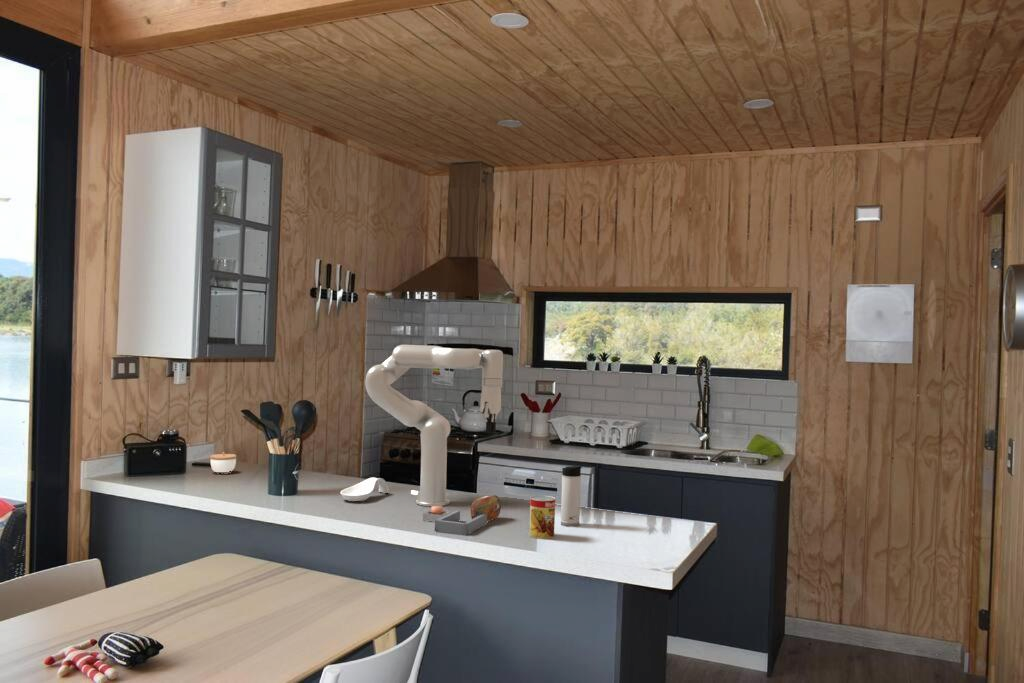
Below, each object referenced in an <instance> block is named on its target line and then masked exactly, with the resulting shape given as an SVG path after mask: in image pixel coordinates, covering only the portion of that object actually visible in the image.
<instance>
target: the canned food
mask: <svg viewBox="0 0 1024 683" xmlns="http://www.w3.org/2000/svg"><path fill="white" fill-rule="evenodd" d="M529 500H530V501H529V502H530V503H529V537H531V538H533V539H537V538H538V539H539V540H547V539H549V540H550V539H553V538H554V537H555V522H556V520H555V517H556V497H554V496H550V495H532V496H530V499H529Z"/></svg>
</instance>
